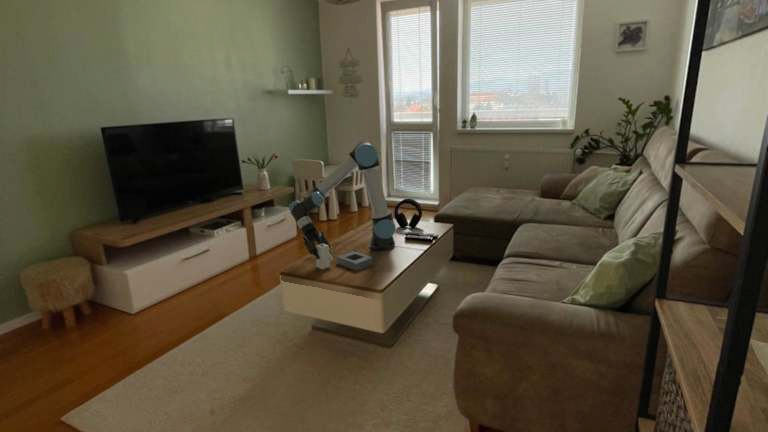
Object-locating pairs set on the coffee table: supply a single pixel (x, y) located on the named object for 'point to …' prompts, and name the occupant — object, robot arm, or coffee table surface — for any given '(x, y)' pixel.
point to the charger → (323, 256)
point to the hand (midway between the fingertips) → (327, 261)
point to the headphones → (401, 217)
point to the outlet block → (355, 260)
